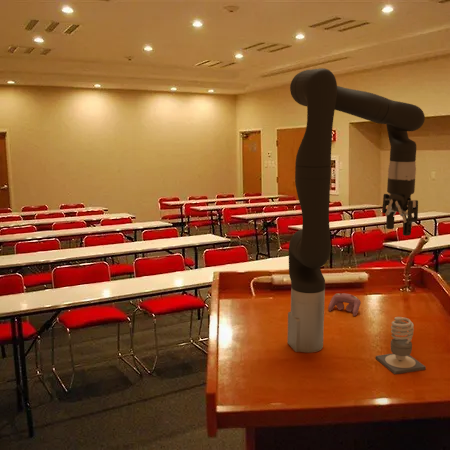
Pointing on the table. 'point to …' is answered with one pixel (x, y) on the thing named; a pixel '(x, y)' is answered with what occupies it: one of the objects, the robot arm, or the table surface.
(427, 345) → the table surface
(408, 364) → the pad
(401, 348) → the light bulb
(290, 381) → the table surface
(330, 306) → the video game controller
